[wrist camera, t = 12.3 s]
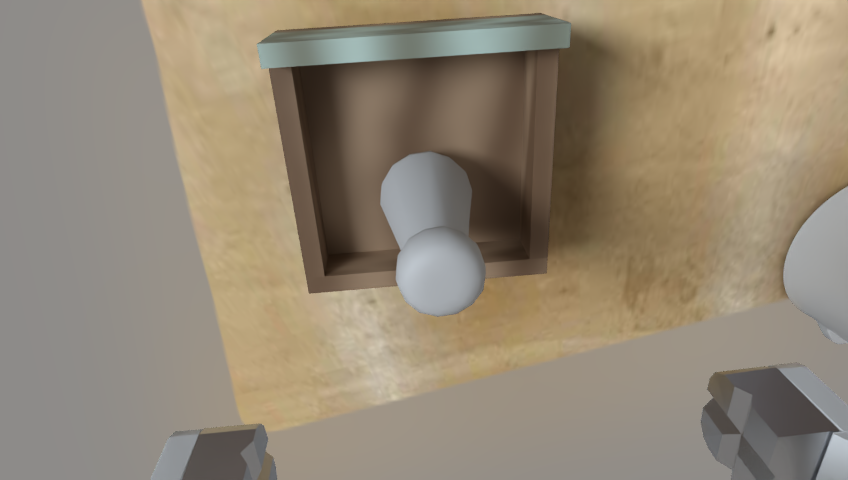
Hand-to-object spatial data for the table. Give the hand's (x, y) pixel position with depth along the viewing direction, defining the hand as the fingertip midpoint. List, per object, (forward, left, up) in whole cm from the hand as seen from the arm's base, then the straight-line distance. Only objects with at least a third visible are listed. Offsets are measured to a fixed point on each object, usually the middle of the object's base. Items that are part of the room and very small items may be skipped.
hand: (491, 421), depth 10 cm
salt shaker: (0, +6, -27) cm, 28 cm away
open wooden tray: (0, +4, -31) cm, 31 cm away
